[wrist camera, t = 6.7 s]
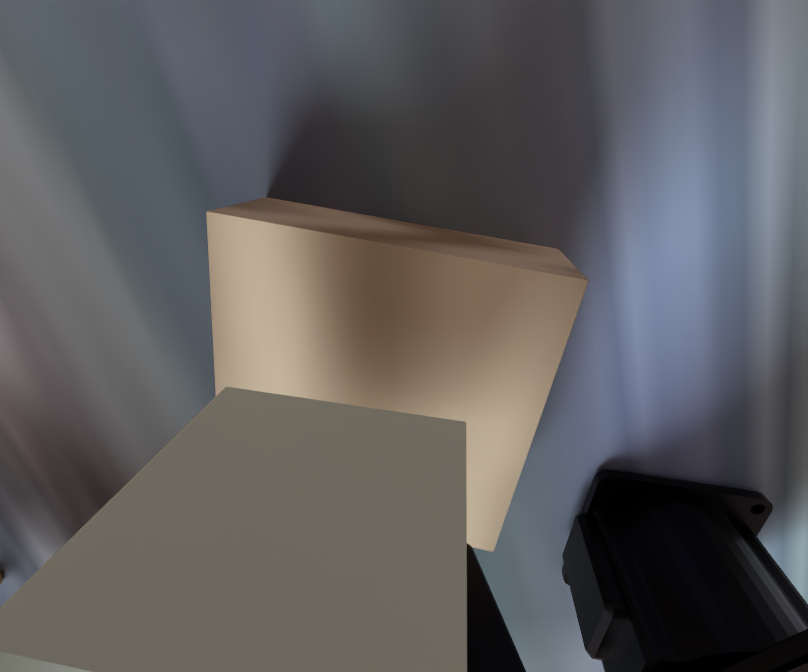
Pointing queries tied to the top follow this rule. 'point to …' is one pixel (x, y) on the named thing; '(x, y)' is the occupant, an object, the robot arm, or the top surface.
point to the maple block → (395, 326)
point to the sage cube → (265, 551)
